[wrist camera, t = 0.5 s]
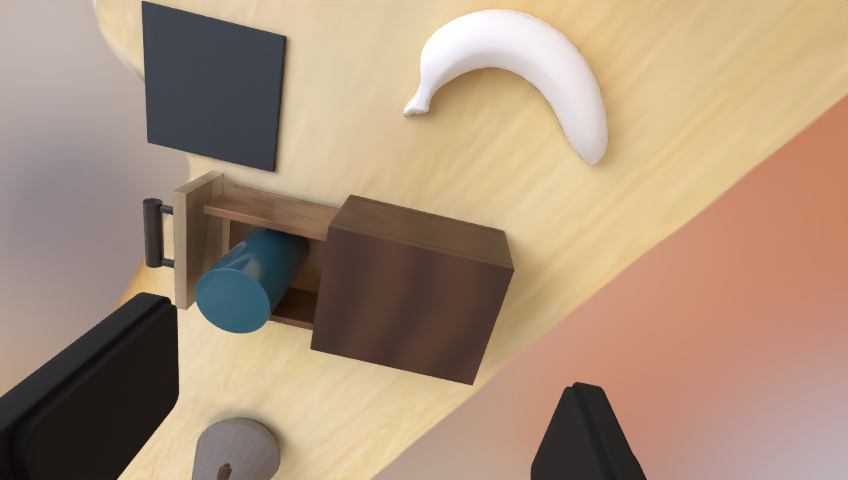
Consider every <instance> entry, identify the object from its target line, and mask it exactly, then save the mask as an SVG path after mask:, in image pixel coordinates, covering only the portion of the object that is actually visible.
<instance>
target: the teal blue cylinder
mask: <svg viewBox="0 0 848 480" xmlns="http://www.w3.org/2000/svg"><path fill="white" fill-rule="evenodd" d="M309 255H310V247H309V243H308V240H307V238H306V237H304V236H300V235H295V234H291V233H287V232H282V231H278V230H274V229H270V228H265V227H261V226H257V227H256V228H255V229H253V230H252V231H251V232H250V233H249V234H248V235H247V236H246V237H245V238H244V239H243V240H241V241H240V242H239V243H238V244H237V245H236V246H235V247H234V248H233V249H232V250H231V251H229V252H228V253H227V254H226V255H225V256H224V257H223V258H222V259H221V260H220V261H219V262H217V263H216V264H215V265H214V266H213V267H212V268H211V269H210V270H209V271H208V272H207V273H205V274H204V275H203V276H202V277H201V278H200V280H199V281H198V283H197V286H196V290H195V298H196V302H197V305H198V307H199V309H200V311H201V313H202V314H203V315H204V316H205V318H206V319H207V320H209V321H210V322H211V323H212V324H214V325H215V326H217V327H218V328H220V329H223V330H225V331H228V332H232V333H249V332H253V331H255V330H257V329H259V328H261V327H262V326H263V325H264V324H265V323H266V321H267V320H268V319H269V317H270V316H271V314H272V313H273V311H274V310H275V308H276V307H277V305H278V304H279V302H280V301H281V299H282V298H283V297H284V295H285V294H286V292H287V291H288V289H289V288H290V286H291V285H292V283H293V282H294V280H295V279H296V277H297V276H298V274H299V273H300V272H301V270H302V269H303V267H304V266H305V264H306V263H307V261H308V258H309Z"/></svg>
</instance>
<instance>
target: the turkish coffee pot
mask: <svg viewBox="0 0 848 480" xmlns="http://www.w3.org/2000/svg"><path fill="white" fill-rule="evenodd" d="M279 465H280V450H279V446H278V444H277V442H276V440H275V438H274V437H273V436H272V433H271V432H270V431H269V430H268V428H266V427H265V426H264V425H263V424H261V423H259V422H257V421H255V420H252V419H248V418H234V419H227V420H223V421H220V422H217V423H215V424H213V425H212V426H210V427H209V428H207V429H206V430H205V431H203V432H202V434H201V435H200V437H199V439H198V441H197V446H196V453H195V460H194V467H193V474H192V480H270V479H271V478H272V477H273V476H274V474H275V473H276V472H277V471H278V468H279Z"/></svg>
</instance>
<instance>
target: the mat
mask: <svg viewBox="0 0 848 480" xmlns="http://www.w3.org/2000/svg"><path fill="white" fill-rule="evenodd" d="M142 22H143V46H144V69H145V90H146V115H147V138H148V143H153V144H157V145H161V146H165V147H169V148H173V149H178V150H182V151H186V152H190V153H194V154H199V155H203V156H207V157H211V158H215V159H220V160H224V161H228V162H232V163H237V164H241V165H245V166H249V167H253V168H258V169H262V170H266V171H270V172H274V171H275V163H276V151H277V139H278V128H279V116H280V104H281V92H282V80H283V68H284V56H285V44H286V36H282V35H278V34H274V33H270V32H266V31H262V30H258V29H254V28H250V27H246V26H242V25H238V24H234V23H230V22H226V21H222V20H218V19H214V18H210V17H206V16H202V15H198V14H194V13H190V12H186V11H182V10H178V9H174V8H170V7H166V6H162V5H158V4H154V3H150V2H146V1H142Z"/></svg>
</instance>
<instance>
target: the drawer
mask: <svg viewBox="0 0 848 480" xmlns="http://www.w3.org/2000/svg"><path fill="white" fill-rule="evenodd" d="M223 175H224V174H223V173H220V172H215V171H211V172H209V173H207V174H205V175H203V176H201V177H199V178H198V179H196V180H194V181H192V182H190V183H188V184H186V185H184V186H182V187H180V188H178V189H176V190H174V191H173V207H171V206H167V205H163V202H162V201H161V200H160V199H154V198H150V199H145V200H144V201H143V213H144V232H145V253H146V265H147V266H148V267H151V268H158V267H161V266H167V267H171V268H174V273H175V306H176V307H177V308H180V309H184V310H187V309H188V308H189V307H190V306H191V305H192V304H193V303H194V302H195V301H196V298H195V290H196V286H197V283H198V281H199V280H200V278H201V277H202V276H203V275H204V274H205V273H207V272H208V271H209V270H210V269H211V268H212V267H213V266H214V265H215V264H216V263H217V262H219V261H220V260H221V237H222V218H227V219H231V223H230V247H229V251H231V250H232V249H233V248H234V247H235V246H236V245H237V244H238V243H239V242H240V241H241V240H243V239H244V238H245V237H246V236H247V235H248V234H249V233H250V232H251V231H252V230H253V229H255V228H256V227H257V226H261V227H265V228H270V229H274V230H278V231H282V232H287V233H291V234H295V235H300V236H304V237H306V238H307V240H308V243H309V247H310V255H309V258H308V261H307V263H306V264H305V266H304V267H303V269H302V270H301V272H300V273H299V274H298V276H297V277H296V279H295V280H294V282H293V283H292V285H291V286H290V288H289V289H288V291H287V292H286V294H285V295H284V297H283V298H282V299H281V301H280V302H279V304H278V305H277V307H276V308H275V310H274V311H273V313H272V314H271V316H270V317H269V319H268V320H270V321H274V322H278V323H283V324H287V325H292V326H296V327H301V328H305V329H309V330H313V327H314V320H315V313H316V307H317V300H318V293H319V286H320V279H321V272H322V265H323V259H324V252H325V245H326V238H327V231H328V226H329V224H330V223H331V222H332V220H333V219H334V217H335V216H336V214H337V213H338V212H339V210H340V209H335V208H331V207H327V206H323V205H319V204H314V203H310V202H306V201H302V200H297V199H293V198H289V197H285V196H280V195H276V194H272V193H268V192H263V191H259V190H255V189H251V188H247V187H242V186H238V185H235V186H233V187H231V188H230V189H228V190H227V191H225V192H224V193H223ZM163 213H167V214H171V215H173V221H174V260H171V259H166V258H164V235H163Z"/></svg>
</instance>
